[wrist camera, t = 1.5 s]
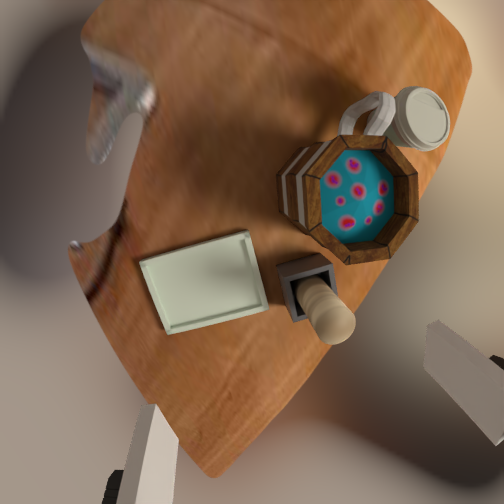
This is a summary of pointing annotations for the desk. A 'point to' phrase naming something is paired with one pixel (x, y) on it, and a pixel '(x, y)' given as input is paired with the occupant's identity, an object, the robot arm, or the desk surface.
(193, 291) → the tray
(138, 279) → the desk surface
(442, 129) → the coffee cup
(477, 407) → the robot arm
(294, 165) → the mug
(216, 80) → the desk surface
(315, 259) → the pen cup
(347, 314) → the dowel
